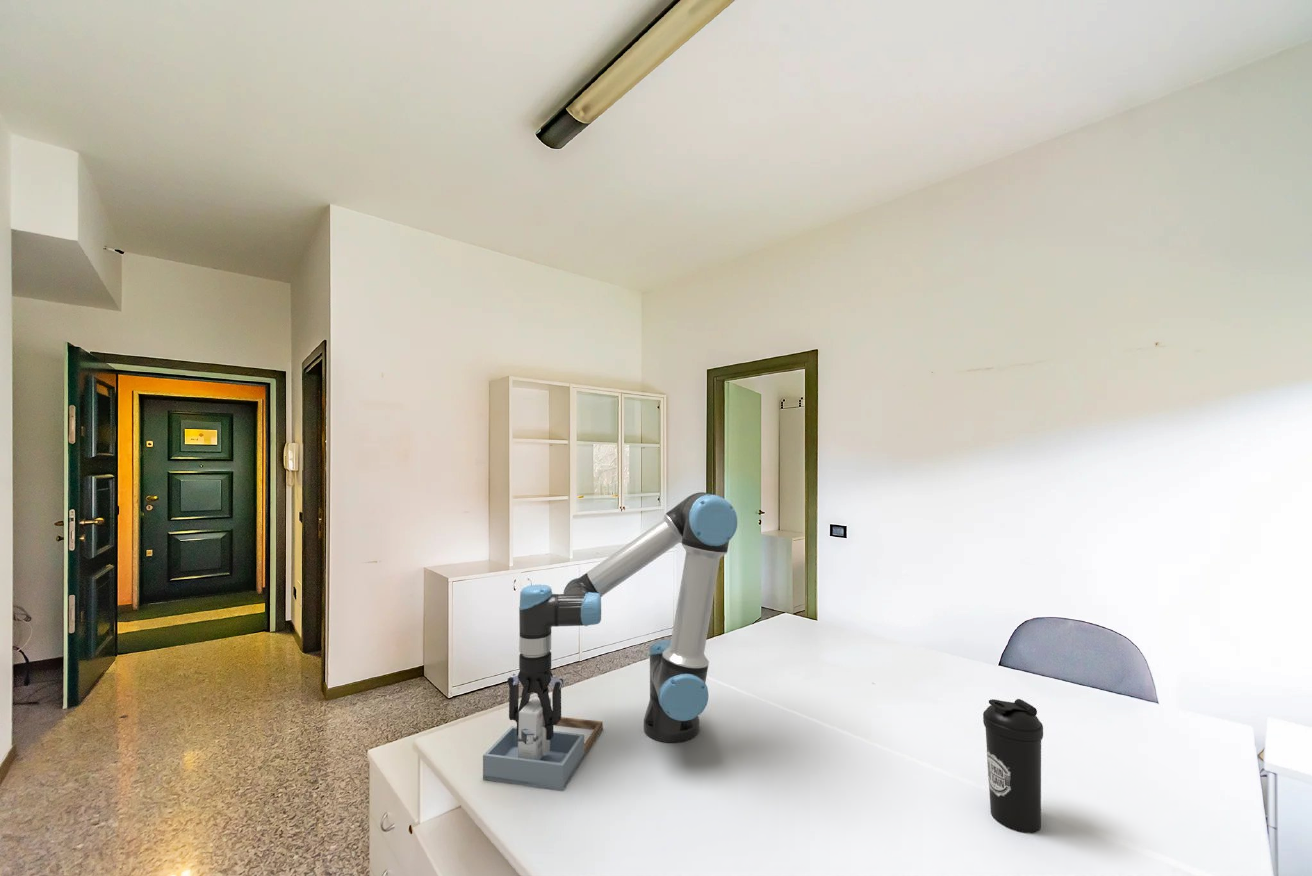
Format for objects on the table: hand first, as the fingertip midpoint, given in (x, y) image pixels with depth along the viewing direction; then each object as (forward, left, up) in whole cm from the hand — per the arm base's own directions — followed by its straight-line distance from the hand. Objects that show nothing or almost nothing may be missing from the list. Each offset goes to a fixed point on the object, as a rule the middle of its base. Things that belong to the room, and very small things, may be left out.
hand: (534, 750), depth 128 cm
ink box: (0, 0, -1) cm, 1 cm away
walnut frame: (0, -14, -4) cm, 15 cm away
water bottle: (-103, -4, -4) cm, 103 cm away
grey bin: (0, 0, -4) cm, 4 cm away
